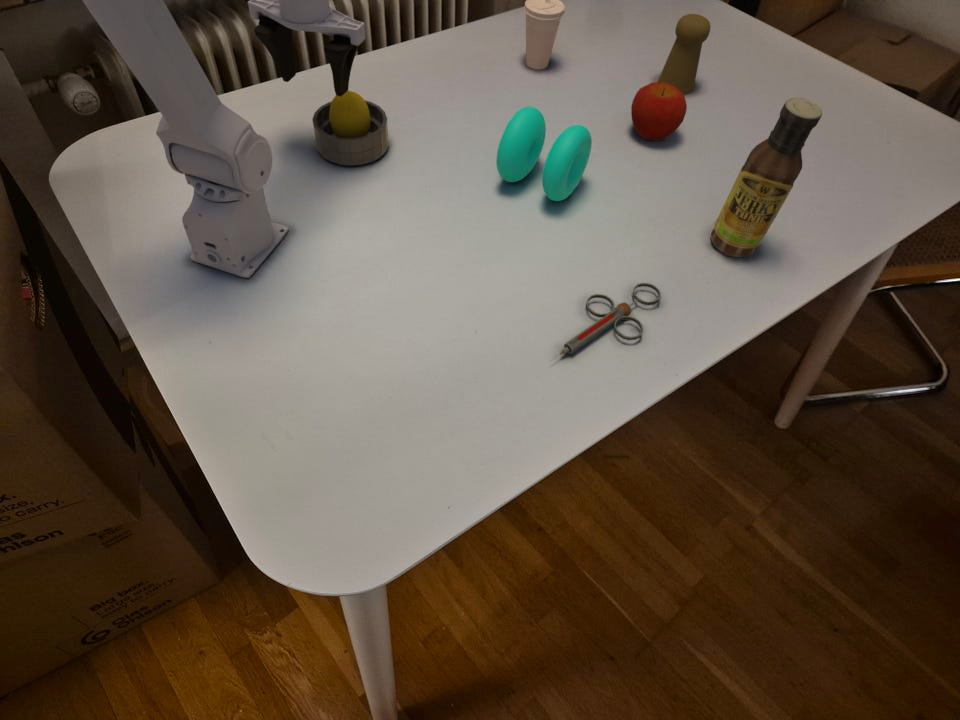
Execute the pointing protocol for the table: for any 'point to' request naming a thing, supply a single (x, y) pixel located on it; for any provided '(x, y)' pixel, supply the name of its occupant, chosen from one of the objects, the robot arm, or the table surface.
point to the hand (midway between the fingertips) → (315, 85)
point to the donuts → (525, 148)
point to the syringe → (608, 320)
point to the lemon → (349, 116)
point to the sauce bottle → (765, 181)
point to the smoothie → (541, 30)
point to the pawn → (685, 53)
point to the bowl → (351, 148)
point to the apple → (658, 110)
